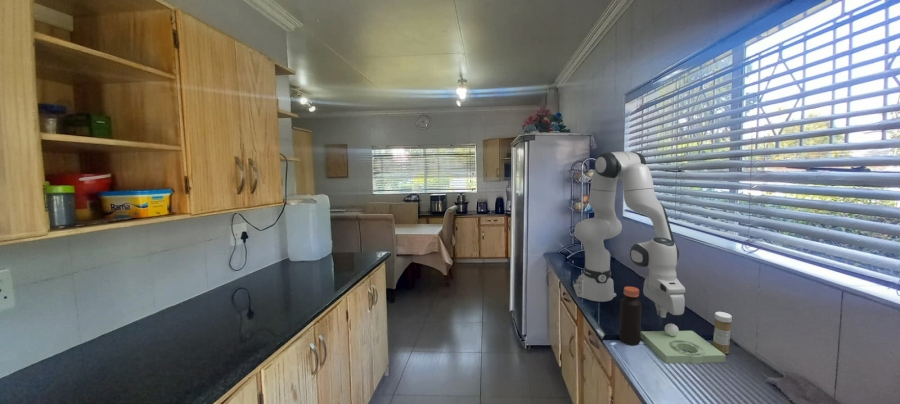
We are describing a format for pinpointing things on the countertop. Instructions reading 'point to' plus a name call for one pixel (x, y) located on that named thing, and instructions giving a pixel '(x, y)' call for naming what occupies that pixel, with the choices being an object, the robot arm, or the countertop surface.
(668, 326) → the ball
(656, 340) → the putting mat
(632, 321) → the vinegar
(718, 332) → the sprinkles bottle
